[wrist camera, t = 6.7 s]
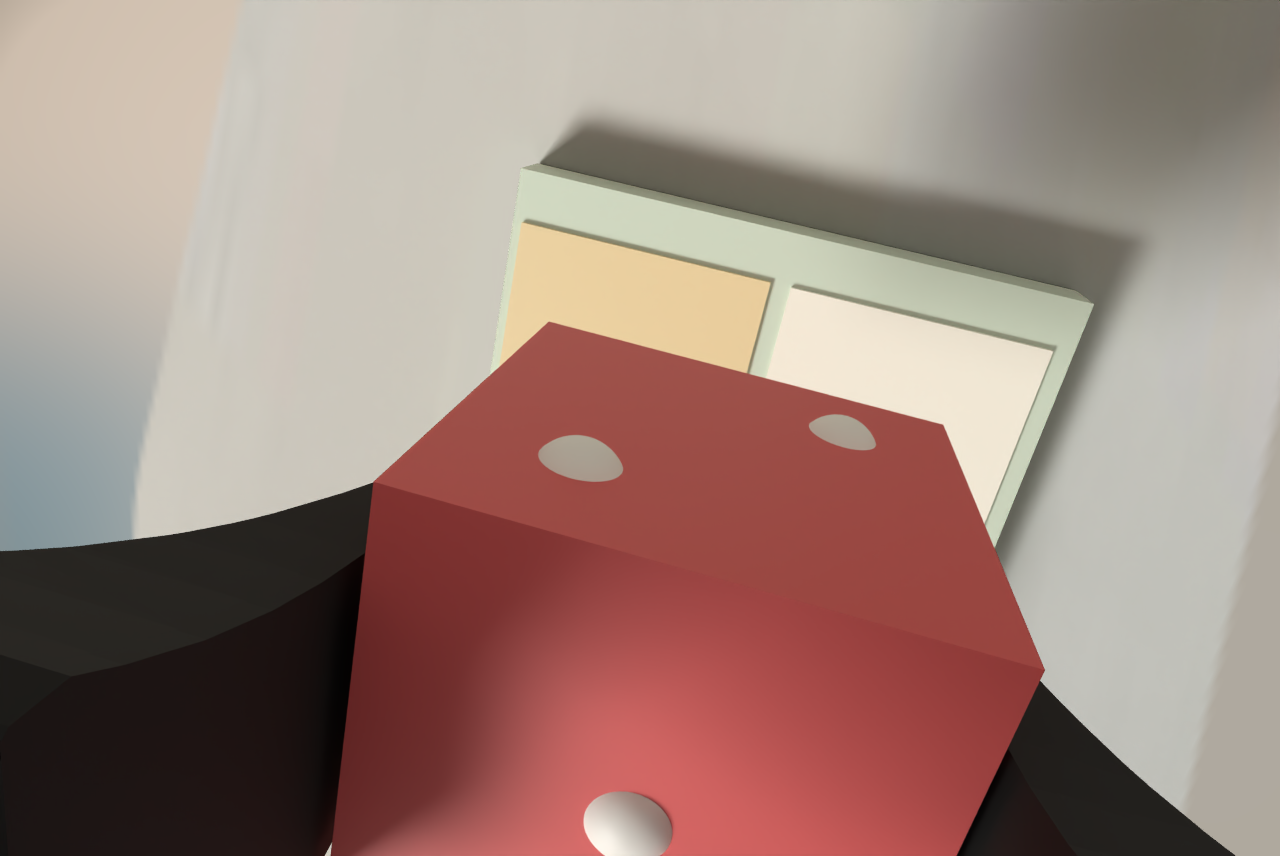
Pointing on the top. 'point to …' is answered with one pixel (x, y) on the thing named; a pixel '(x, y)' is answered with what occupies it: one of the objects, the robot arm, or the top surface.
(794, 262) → the board
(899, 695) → the die
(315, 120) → the top surface
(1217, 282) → the top surface
